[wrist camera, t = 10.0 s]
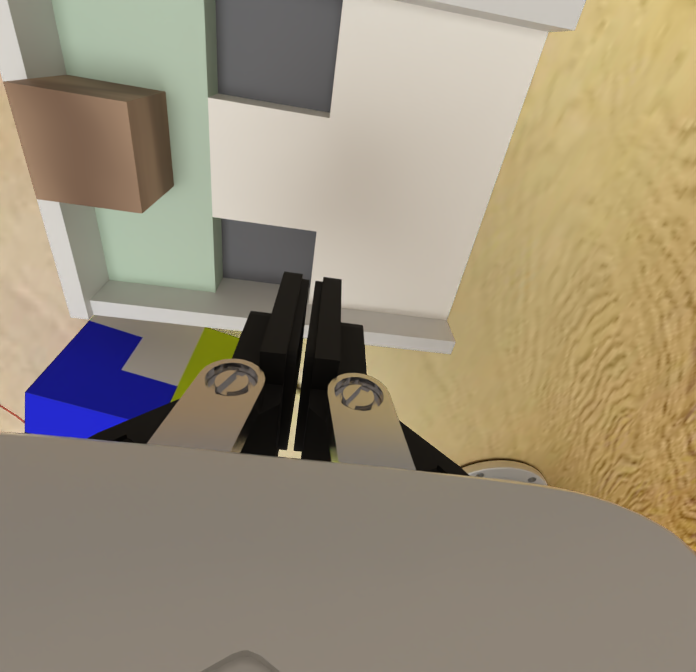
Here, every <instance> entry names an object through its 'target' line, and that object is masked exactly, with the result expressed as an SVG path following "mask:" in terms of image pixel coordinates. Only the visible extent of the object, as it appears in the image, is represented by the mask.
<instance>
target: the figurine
mask: <svg viewBox="0 0 696 672" xmlns="http://www.w3.org/2000/svg"><path fill="white" fill-rule="evenodd" d="M0 407H2V408H3V409H5V410H6V411H8V412H9V413H11V414H13V415H14V416H16V417H17V418H18V419H20V420H21V421H22V422H24V423H25V421H24V420H22V419H21V418H20V417H18V416H17V415H16V414H14V413H13V412H11V411H9V410H8V409H6V408H5V407H3V406H1V405H0Z"/></svg>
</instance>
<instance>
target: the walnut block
mask: <svg viewBox="0 0 696 672" xmlns="http://www.w3.org/2000/svg"><path fill="white" fill-rule="evenodd" d="M3 83H4V86H5V90H6V93H7V97H8V100H9V104H10V107H11V111H12V114H13V118H14V121H15V125H16V128H17V132H18V135H19V139H20V142H21V146H22V149H23V153H24V156H25V160H26V163H27V167H28V170H29V174H30V177H31V181H32V184H33V188H34V191H35V195H36V198H37V199H39V200H46V201H54V202H61V203H68V204H75V205H83V206H90V207H97V208H104V209H112V210H119V211H126V212H133V213H141V214H142V213H144V212H145V211H146V210H147V209H148V208H149V207H150V206H152V205H153V204H154V203H155V202H156V201H157V200H159V199H160V198H161V197H162V196H163V195H164V194H165V193H167V192H168V191H169V190H170V189H171V188H172V187H174V180H173V169H172V157H171V146H170V135H169V124H168V113H167V102H166V92H165V91H159V90H154V89H148V88H142V87H136V86H130V85H124V84H118V83H112V82H107V81H101V80H95V79H89V78H83V77H77V76H71V75H59V76H50V77H41V78H31V79H22V80H13V81H4V82H3Z"/></svg>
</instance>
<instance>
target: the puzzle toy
mask: <svg viewBox="0 0 696 672" xmlns="http://www.w3.org/2000/svg"><path fill="white" fill-rule="evenodd" d="M239 339H240V338H237V337H234V336H231V335H228V334H225V333H222V332H219V331H216V330H213V329H210V328H207V327H199V326H190V325H181V324H172V323H163V322H154V321H145V320H136V319H127V318H118V317H109V316H100V315H94V316H93V317H92V318H91V319H90V320H89V322H88V323H87V324H86V325H85V326H84V327H83V328H82V329H81V330H80V332H79V333H78V334H77V335H76V336H75V337H74V338H73V339H72V340H71V342H70V343H69V344H68V345H67V346H66V347H65V348H64V349H63V351H62V352H61V353H60V354H59V355H58V356H57V357H56V358H55V359H54V361H53V362H52V363H51V364H50V365H49V366H48V367H47V368H46V369H45V371H44V372H43V373H42V374H41V375H40V376H39V377H38V378H37V379H36V381H35V382H34V383H33V384H32V385H31V386H30V387H29V388H28V389H27V391H26V392H25V433H27V434H42V435H53V436H63V437H74V438H85V439H87V438H89V437H91V436H92V435H94V434H96V433H98V432H101V431H103V430H105V429H108V428H110V427H113V426H115V425H117V424H120V423H122V422H125V421H127V420H129V419H132V418H134V417H137V416H139V415H141V414H144V413H146V412H149V411H151V410H153V409H156V408H158V407H161V406H163V405H165V404H168V403H170V402H173V401H175V400H177V399H180V398H181V397H182V395H183V394H184V393H185V391H186V390H187V389H188V387H189V386H190V385H191V383H192V382H193V381H194V379H195V378H196V377H197V375H198V374H199V373H200V371H201V370H203V369H204V368H205V367H206V366H207V365H209V364H211V363H213V362H216V361H219V360H223V359H232V357H233V354H234V351H235V349H236V346H237V344H238V341H239Z"/></svg>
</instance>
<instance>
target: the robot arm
mask: <svg viewBox="0 0 696 672" xmlns="http://www.w3.org/2000/svg"><path fill="white" fill-rule="evenodd" d="M309 281H310V280H307V279H303V274H300V273H293V272H285V271H284V273H283V277H282V280H281V283H280V287H279V290H278V293H277V297H276V300H275V303H274V307H273V310H272V313H266V312H258V311H250V313H249V316H248V318H247V321H246V323H245V326H244V328H243V331H242V334H241V336H240V339H239V341H238V344H237V346H236V349H235V351H234V354H233V357H232V359H223V360H219V361H216V362H213V363H211V364H209V365H207V366H206V367H205V368H204V369H203V370H201V371H200V373H199V374H198V375H197V377H196V378H195V379H194V381H193V382H192V383H191V385H190V386H189V387H188V389H187V390H186V391H185V393H184V394H183V395H182V397H181V398H180V399H177V400H175V401H173V402H170V403H168V404H165V405H163V406H161V407H158V408H156V409H153V410H151V411H149V412H146V413H144V414H141V415H139V416H137V417H134V418H132V419H129V420H127V421H125V422H122V423H120V424H117V425H115V426H113V427H110V428H108V429H105V430H103V431H101V432H98V433H96V434H94V435H92V436H91V437H89V438H87V439H85V438H74V437H63V436H53V435H42V434H27V433H11V432H0V672H696V553H695V552H694V551H693V550H692V549H691V548H690V547H689V546H688V545H687V544H686V543H685V542H684V541H683V540H681V539H680V538H679V537H678V536H676V535H675V534H674V533H672V532H671V531H670V530H668V529H667V528H665V527H663V526H662V525H660V524H658V523H656V522H655V521H653V520H651V519H649V518H647V517H645V516H643V515H641V514H639V513H637V512H635V511H632V510H630V509H627V508H625V507H622V506H620V505H618V504H615V503H613V502H610V501H608V500H605V499H601V498H598V497H595V496H591V495H588V494H585V493H582V492H577V491H573V490H568V489H563V488H558V487H554V486H548V485H547V482H546V480H545V478H544V477H543V475H542V474H541V473H540V472H539V471H538V470H536V469H535V468H533V467H531V466H529V465H527V464H524V463H520V462H515V461H506V460H496V461H486V462H479V463H475V464H472V465H468V466H466V467H463V468H461V467H459V466H458V465H457V464H455V463H454V462H453V461H452V460H450V459H449V458H448V457H446V456H445V455H444V454H442V453H441V452H440V451H438V450H437V449H436V448H435V447H433V446H432V445H431V444H429V443H428V442H427V441H425V440H424V439H423V438H421V437H420V436H419V435H417V434H416V433H415V432H414V431H412V430H411V429H410V428H408V427H407V426H406V425H404V424H403V423H402V422H400V421H399V419H398V416H397V414H396V411H395V408H394V405H393V402H392V399H391V396H390V393H389V392H388V390H387V388H386V387H385V386H384V385H383V384H382V383H381V382H380V381H379V380H377V379H375V378H373V377H371V376H368V375H367V373H366V359H365V344H364V329H363V325H359V324H351V323H343V322H341V291H342V279H336V278H329V277H323V282H322V281H315V288H314V295H313V302H312V309H311V316H310V323H309V330H308V337H307V344H306V352H305V359H304V367H303V376H302V384H301V393H300V401H299V410H298V418H297V426H296V435H295V443H294V451H301V452H302V455H301V459H297V458H287V457H278V452H279V449H281V450H287V446H288V440H289V433H290V427H291V420H292V414H293V407H294V401H295V394H296V388H297V381H298V375H299V368H300V361H301V353H302V344H303V335H304V326H305V317H306V308H307V300H308V291H309Z"/></svg>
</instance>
